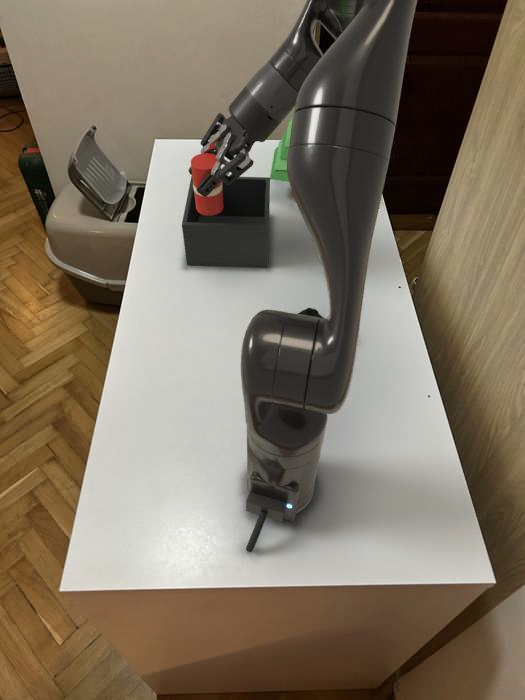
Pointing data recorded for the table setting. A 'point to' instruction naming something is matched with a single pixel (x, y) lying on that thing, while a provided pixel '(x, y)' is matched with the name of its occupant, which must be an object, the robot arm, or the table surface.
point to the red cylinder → (200, 169)
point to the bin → (230, 226)
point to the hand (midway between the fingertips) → (196, 183)
